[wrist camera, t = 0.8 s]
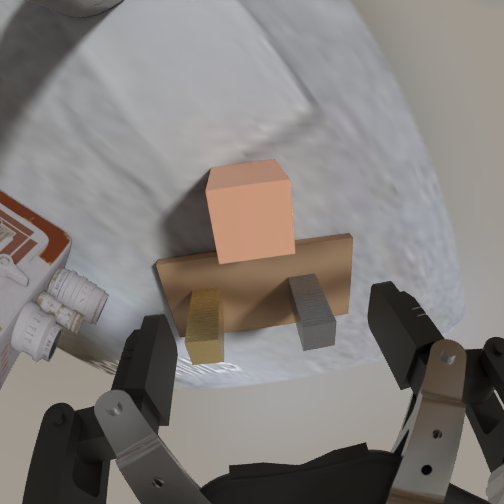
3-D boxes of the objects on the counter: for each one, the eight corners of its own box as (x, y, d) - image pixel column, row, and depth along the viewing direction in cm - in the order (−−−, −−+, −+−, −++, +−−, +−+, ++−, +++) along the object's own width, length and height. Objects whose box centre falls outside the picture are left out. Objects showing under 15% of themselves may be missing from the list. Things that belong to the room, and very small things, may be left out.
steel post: (287, 277, 28) (303, 327, 22) (314, 273, 28) (336, 321, 22) (289, 299, 30) (303, 350, 23) (315, 295, 30) (334, 345, 23)
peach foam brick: (211, 168, 24) (205, 190, 18) (274, 159, 24) (290, 179, 18) (221, 225, 27) (219, 264, 21) (280, 217, 27) (295, 253, 21)
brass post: (192, 290, 28) (184, 342, 22) (219, 286, 28) (217, 339, 22) (198, 311, 30) (192, 364, 23) (224, 308, 30) (224, 361, 23)
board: (158, 259, 28) (156, 265, 27) (349, 233, 28) (352, 237, 27) (181, 331, 32) (180, 337, 31) (345, 307, 32) (348, 313, 31)
